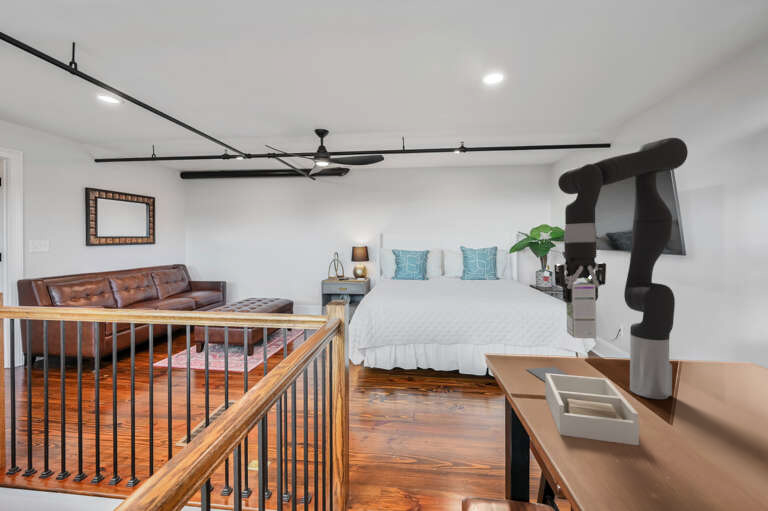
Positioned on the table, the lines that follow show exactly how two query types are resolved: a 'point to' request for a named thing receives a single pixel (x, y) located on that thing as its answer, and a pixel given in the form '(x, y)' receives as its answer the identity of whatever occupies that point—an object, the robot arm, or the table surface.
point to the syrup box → (582, 311)
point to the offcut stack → (591, 409)
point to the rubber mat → (541, 372)
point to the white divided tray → (584, 425)
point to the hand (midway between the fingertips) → (580, 301)
